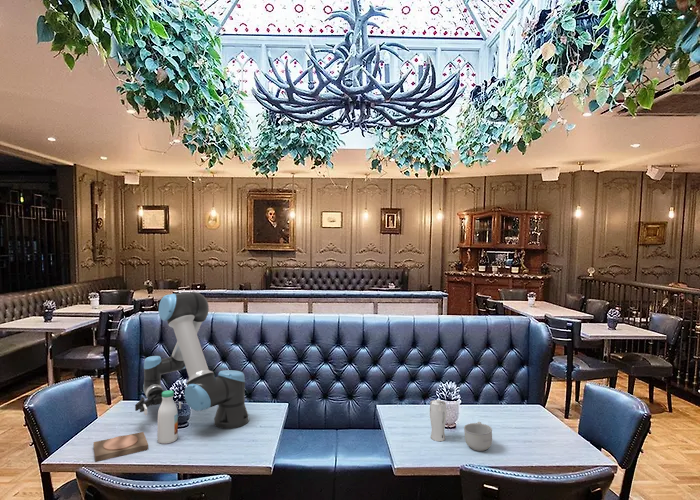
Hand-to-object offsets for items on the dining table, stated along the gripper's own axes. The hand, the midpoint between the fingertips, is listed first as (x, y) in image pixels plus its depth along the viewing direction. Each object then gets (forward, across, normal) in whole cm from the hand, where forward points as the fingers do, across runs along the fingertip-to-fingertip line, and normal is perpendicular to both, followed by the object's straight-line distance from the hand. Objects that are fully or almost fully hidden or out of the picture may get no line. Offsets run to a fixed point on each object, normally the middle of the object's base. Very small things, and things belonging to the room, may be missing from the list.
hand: (163, 408), depth 184 cm
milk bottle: (+9, 0, -10) cm, 14 cm away
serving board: (+7, +17, -10) cm, 21 cm away
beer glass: (+68, -96, -10) cm, 118 cm away
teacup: (+82, -105, -10) cm, 134 cm away
